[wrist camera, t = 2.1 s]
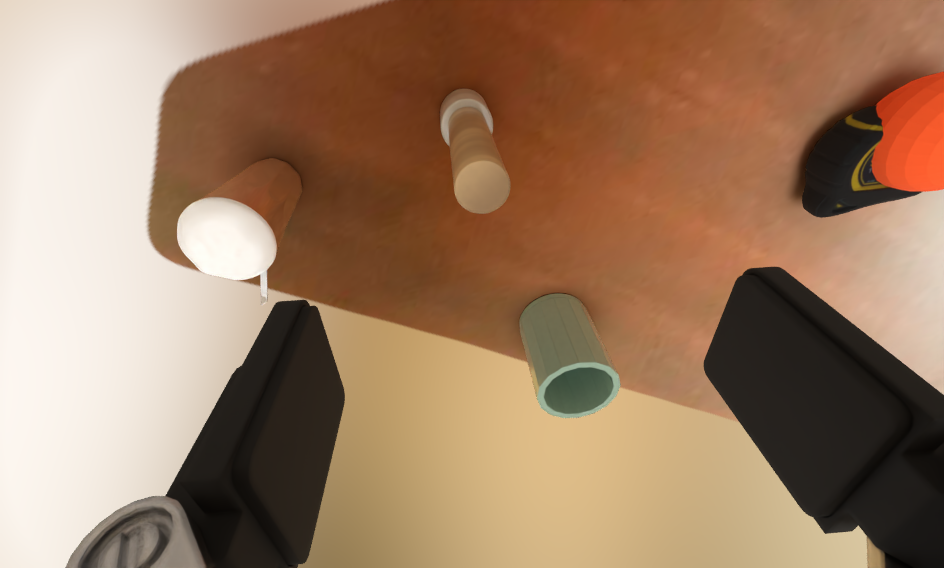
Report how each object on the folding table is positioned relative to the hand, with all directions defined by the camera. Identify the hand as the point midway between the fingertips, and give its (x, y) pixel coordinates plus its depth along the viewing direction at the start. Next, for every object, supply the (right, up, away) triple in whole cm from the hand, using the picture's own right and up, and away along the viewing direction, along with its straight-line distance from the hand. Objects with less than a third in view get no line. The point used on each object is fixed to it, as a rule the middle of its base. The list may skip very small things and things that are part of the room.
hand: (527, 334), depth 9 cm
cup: (+6, -2, +27) cm, 27 cm away
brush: (-2, +12, +16) cm, 20 cm away
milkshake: (-14, +8, +18) cm, 24 cm away
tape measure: (+26, +10, +20) cm, 34 cm away
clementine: (+27, +13, +19) cm, 35 cm away
